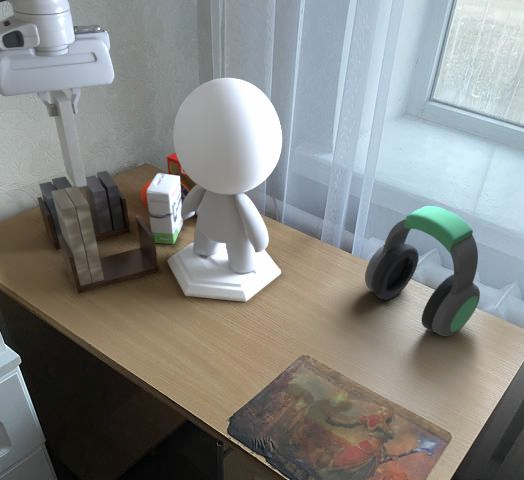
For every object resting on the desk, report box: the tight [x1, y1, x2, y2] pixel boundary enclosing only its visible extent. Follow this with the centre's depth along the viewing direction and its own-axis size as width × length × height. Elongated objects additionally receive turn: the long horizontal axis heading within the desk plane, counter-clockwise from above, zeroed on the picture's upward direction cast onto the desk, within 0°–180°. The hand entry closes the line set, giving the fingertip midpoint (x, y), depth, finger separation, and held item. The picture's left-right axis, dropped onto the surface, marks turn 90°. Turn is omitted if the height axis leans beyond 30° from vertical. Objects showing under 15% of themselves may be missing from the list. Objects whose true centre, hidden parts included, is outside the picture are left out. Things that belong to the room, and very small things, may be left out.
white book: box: [48, 90, 87, 188], centre depth 101 cm, size 2×7×16 cm, turn 30°
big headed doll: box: [167, 77, 283, 303], centre depth 95 cm, size 20×23×35 cm
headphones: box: [364, 205, 481, 337], centre depth 93 cm, size 19×11×20 cm, turn 40°
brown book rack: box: [51, 185, 159, 294], centre depth 100 cm, size 16×8×17 cm, turn 120°
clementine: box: [140, 177, 155, 209], centre depth 121 cm, size 8×7×7 cm
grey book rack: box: [36, 170, 131, 251], centre depth 111 cm, size 16×8×12 cm, turn 120°
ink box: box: [146, 172, 184, 245], centre depth 112 cm, size 9×5×12 cm, turn 173°
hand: (63, 114), depth 98 cm, fingers closed on white book, 2 cm apart
